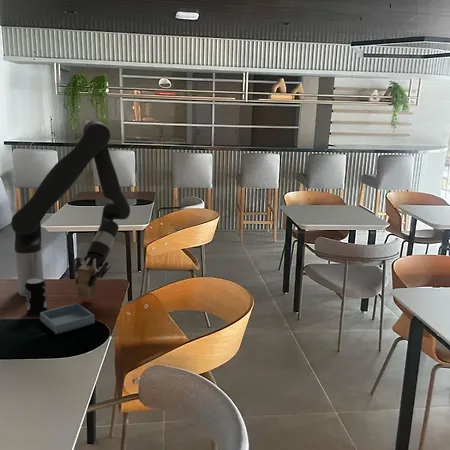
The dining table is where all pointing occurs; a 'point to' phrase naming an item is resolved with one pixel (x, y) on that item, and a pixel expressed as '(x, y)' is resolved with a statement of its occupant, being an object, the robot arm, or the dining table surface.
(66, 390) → the dining table surface
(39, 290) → the beverage can
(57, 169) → the robot arm
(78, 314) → the box
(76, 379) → the dining table surface
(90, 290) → the wooden block
